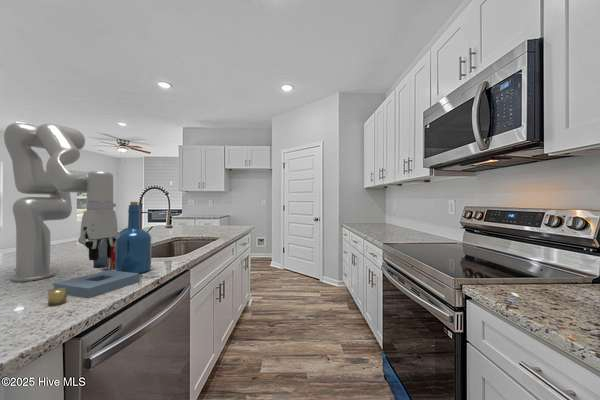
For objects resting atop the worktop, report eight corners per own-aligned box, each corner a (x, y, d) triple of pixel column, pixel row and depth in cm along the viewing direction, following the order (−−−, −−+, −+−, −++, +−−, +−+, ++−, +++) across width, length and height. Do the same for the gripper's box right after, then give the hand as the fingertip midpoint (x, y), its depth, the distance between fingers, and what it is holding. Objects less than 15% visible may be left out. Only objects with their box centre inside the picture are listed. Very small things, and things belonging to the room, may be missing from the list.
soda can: (110, 271, 115) (111, 243, 115) (97, 270, 116) (97, 242, 116) (124, 267, 122) (125, 240, 122) (111, 266, 123) (112, 240, 123)
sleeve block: (54, 292, 88) (54, 283, 88) (108, 277, 105) (108, 270, 105) (88, 298, 83) (88, 288, 83) (139, 281, 100) (139, 273, 100)
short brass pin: (44, 305, 77) (44, 291, 77) (60, 300, 81) (60, 287, 81) (53, 307, 76) (53, 293, 76) (69, 302, 79) (69, 288, 80)
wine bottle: (158, 269, 118) (158, 201, 118) (129, 277, 105) (130, 201, 105) (136, 266, 123) (136, 201, 123) (106, 274, 110) (107, 201, 110)
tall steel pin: (90, 268, 92) (90, 239, 92) (102, 265, 96) (102, 237, 96) (98, 268, 91) (98, 239, 91) (110, 266, 95) (110, 238, 95)
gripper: (115, 206, 103) (115, 253, 103) (66, 207, 87) (65, 263, 87) (130, 206, 101) (130, 254, 101) (82, 207, 85) (82, 264, 85)
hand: (100, 258), depth 94 cm, fingers closed on tall steel pin, 4 cm apart
